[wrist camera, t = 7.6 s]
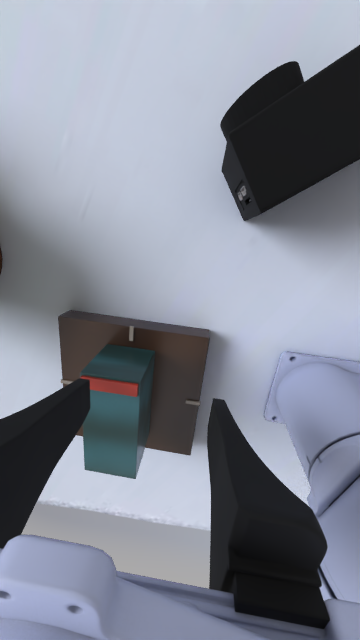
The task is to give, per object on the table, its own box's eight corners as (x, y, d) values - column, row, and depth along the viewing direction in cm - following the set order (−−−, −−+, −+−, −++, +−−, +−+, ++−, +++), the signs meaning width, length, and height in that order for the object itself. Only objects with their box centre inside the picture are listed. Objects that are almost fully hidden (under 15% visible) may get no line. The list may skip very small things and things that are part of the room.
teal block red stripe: (148, 434, 25) (134, 482, 20) (107, 427, 26) (83, 472, 21) (155, 350, 22) (139, 383, 17) (106, 343, 22) (78, 374, 17)
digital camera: (358, 57, 16) (469, -73, 9) (382, 143, 17) (492, 84, 10) (213, 153, 18) (216, 107, 12) (243, 221, 19) (261, 214, 13)
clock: (210, 328, 23) (210, 338, 21) (192, 441, 28) (190, 457, 26) (68, 308, 24) (55, 315, 22) (75, 421, 29) (64, 435, 27)
